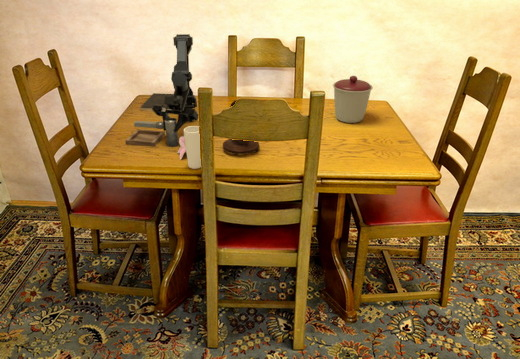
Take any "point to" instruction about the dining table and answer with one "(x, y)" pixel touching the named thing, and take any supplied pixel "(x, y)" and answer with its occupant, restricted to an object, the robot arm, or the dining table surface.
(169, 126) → the polished metal cylinder
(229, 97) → the dining table surface
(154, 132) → the taupe tray
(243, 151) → the dark round disc base
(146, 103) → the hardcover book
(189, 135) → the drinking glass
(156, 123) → the grey ratchet handle
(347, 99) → the canister
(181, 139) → the lily
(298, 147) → the dining table surface
